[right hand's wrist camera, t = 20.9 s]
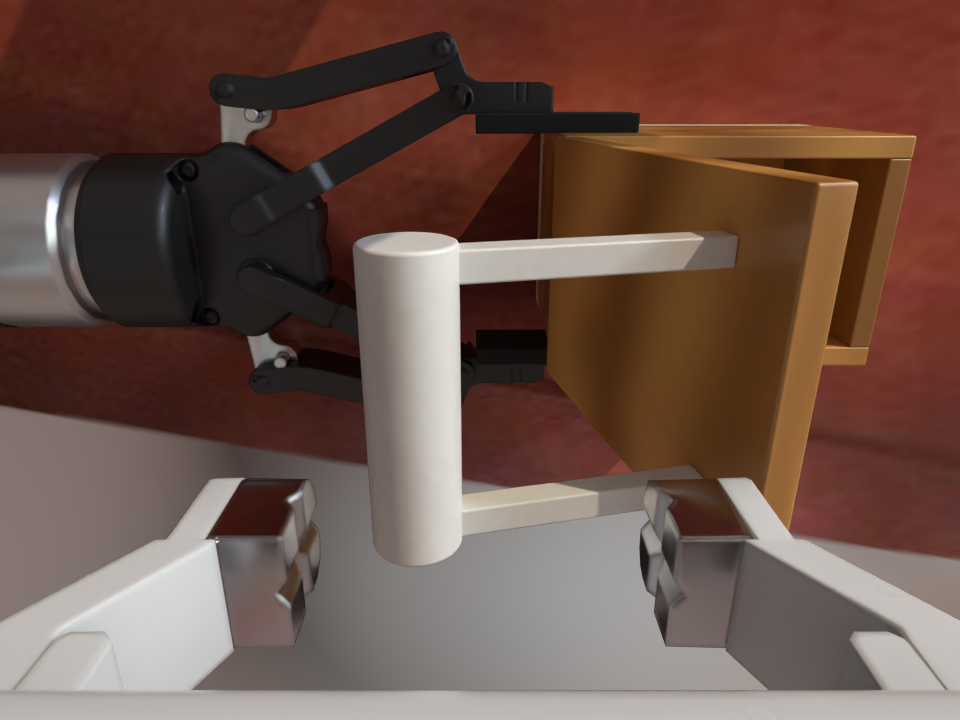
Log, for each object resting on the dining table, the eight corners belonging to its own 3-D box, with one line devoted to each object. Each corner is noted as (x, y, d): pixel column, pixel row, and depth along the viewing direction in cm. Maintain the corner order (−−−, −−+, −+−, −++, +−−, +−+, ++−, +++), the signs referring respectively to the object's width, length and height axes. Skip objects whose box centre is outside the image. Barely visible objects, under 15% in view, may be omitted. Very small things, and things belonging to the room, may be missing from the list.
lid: (861, 181, 12) (355, 197, 10) (776, 595, 15) (387, 666, 14) (578, 136, 25) (329, 140, 23) (566, 369, 28) (349, 390, 26)
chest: (799, 124, 34) (918, 135, 25) (770, 299, 38) (865, 366, 28) (541, 124, 34) (564, 135, 25) (535, 299, 38) (554, 366, 28)
